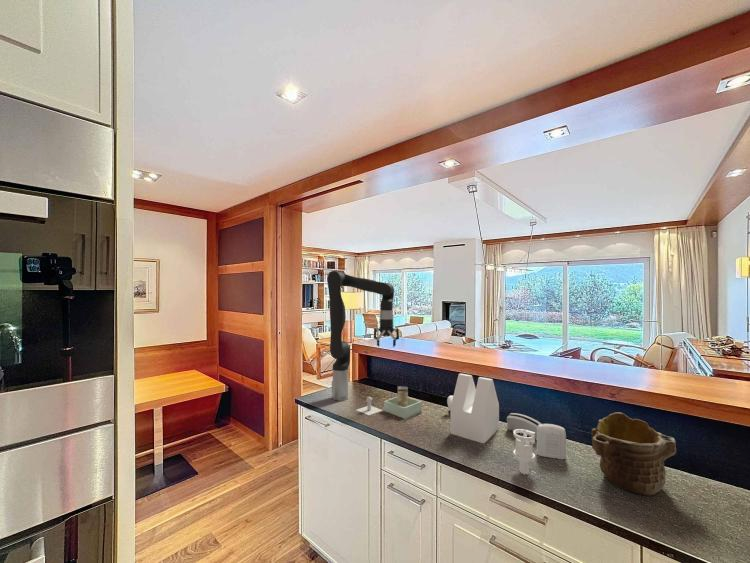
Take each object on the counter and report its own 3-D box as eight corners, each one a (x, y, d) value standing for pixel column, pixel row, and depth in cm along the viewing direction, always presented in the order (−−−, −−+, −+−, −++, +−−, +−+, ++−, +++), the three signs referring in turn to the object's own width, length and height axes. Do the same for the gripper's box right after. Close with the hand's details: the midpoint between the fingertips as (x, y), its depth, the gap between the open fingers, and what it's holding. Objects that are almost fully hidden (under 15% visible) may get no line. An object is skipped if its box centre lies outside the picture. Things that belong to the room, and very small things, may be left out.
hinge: (548, 439, 143) (545, 419, 141) (543, 446, 140) (539, 426, 138) (512, 426, 156) (508, 407, 154) (507, 432, 153) (503, 413, 151)
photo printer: (564, 455, 129) (564, 424, 129) (567, 461, 125) (567, 428, 125) (535, 451, 132) (535, 420, 132) (537, 456, 128) (537, 425, 128)
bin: (383, 412, 172) (384, 401, 172) (401, 405, 182) (401, 394, 182) (404, 420, 162) (404, 408, 162) (421, 412, 172) (421, 401, 172)
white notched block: (467, 420, 163) (467, 369, 164) (498, 428, 154) (498, 375, 154) (450, 433, 148) (450, 378, 148) (484, 444, 139) (484, 384, 139)
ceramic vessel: (673, 498, 90) (611, 408, 105) (602, 511, 107) (557, 431, 122) (713, 477, 100) (651, 397, 114) (642, 492, 117) (596, 420, 131)
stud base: (355, 411, 173) (355, 396, 173) (369, 406, 180) (369, 392, 180) (368, 417, 166) (368, 401, 166) (382, 412, 173) (382, 396, 173)
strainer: (533, 480, 113) (533, 436, 113) (511, 473, 116) (511, 431, 117) (536, 470, 119) (535, 428, 119) (515, 464, 122) (515, 424, 123)
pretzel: (458, 419, 163) (458, 401, 163) (440, 411, 173) (440, 394, 173) (473, 414, 170) (473, 397, 170) (455, 407, 180) (455, 391, 180)
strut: (398, 412, 169) (398, 389, 169) (397, 409, 174) (397, 386, 174) (407, 412, 169) (407, 389, 169) (406, 409, 174) (407, 386, 174)
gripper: (373, 318, 183) (373, 347, 183) (399, 318, 183) (399, 348, 182) (374, 317, 190) (373, 345, 190) (398, 317, 190) (398, 345, 190)
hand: (386, 346), depth 186 cm, fingers open, 8 cm apart
